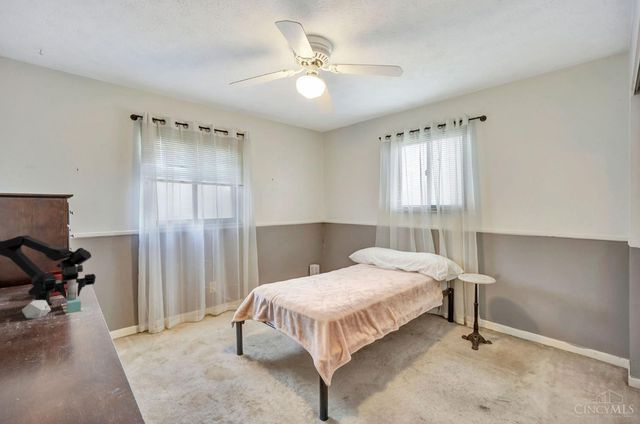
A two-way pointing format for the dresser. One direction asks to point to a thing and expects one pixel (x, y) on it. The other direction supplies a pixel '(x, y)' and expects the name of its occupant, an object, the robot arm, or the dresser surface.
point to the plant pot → (58, 277)
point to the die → (36, 309)
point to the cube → (73, 306)
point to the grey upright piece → (70, 295)
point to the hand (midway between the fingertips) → (72, 297)
